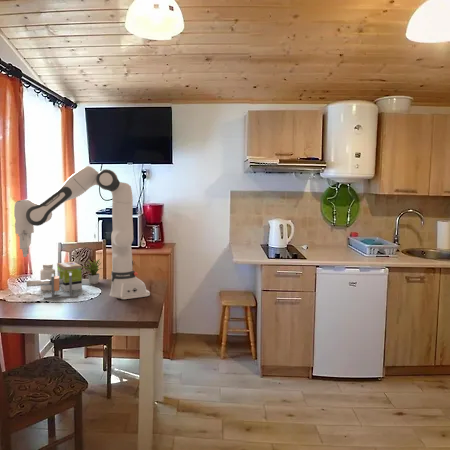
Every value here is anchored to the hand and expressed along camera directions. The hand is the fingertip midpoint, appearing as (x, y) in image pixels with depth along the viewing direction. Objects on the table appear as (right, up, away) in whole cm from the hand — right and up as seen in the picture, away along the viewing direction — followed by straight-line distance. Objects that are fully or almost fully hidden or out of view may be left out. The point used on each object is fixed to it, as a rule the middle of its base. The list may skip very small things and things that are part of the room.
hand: (26, 255), depth 216 cm
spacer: (+14, -19, +5) cm, 25 cm away
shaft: (+9, -17, +3) cm, 19 cm away
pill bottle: (+3, -22, +21) cm, 30 cm away
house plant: (+24, -21, +37) cm, 49 cm away
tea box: (+14, -22, +25) cm, 36 cm away
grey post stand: (+17, -23, +7) cm, 29 cm away
